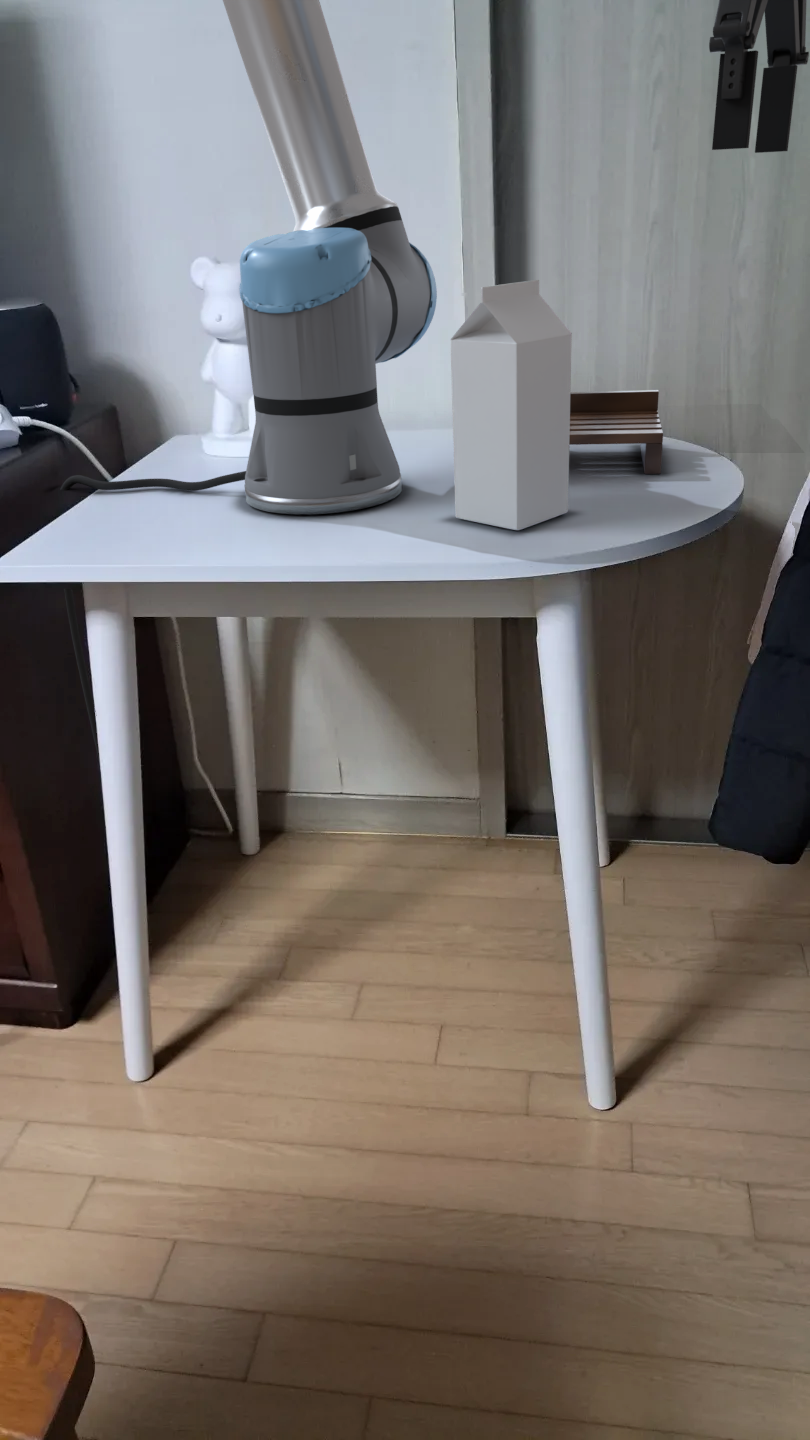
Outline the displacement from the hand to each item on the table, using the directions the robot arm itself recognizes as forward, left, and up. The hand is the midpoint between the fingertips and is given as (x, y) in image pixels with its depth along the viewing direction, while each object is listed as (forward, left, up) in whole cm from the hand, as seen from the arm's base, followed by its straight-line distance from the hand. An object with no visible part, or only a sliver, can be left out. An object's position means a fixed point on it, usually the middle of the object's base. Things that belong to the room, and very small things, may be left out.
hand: (751, 151), depth 87 cm
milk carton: (-19, -14, -28) cm, 37 cm away
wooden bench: (-12, +8, -28) cm, 31 cm away
